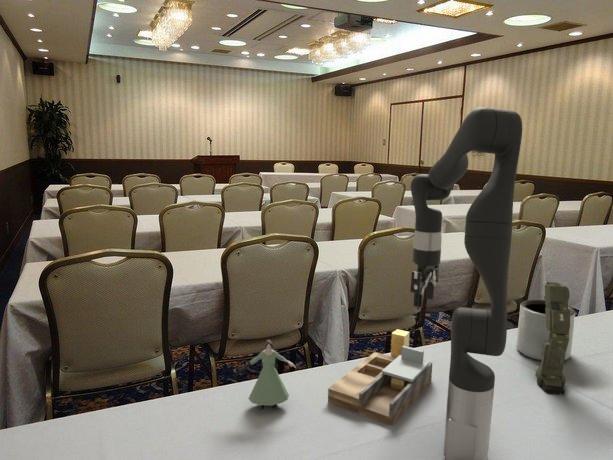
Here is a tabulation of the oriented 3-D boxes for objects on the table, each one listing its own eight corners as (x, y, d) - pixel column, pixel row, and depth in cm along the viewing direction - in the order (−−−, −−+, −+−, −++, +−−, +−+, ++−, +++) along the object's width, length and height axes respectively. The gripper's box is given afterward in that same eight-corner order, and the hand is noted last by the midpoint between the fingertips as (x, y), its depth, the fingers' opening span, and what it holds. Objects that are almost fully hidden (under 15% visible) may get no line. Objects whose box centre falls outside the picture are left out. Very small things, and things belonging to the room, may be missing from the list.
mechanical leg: (574, 399, 131) (577, 285, 132) (544, 396, 132) (548, 283, 134) (558, 386, 144) (561, 282, 146) (531, 383, 146) (535, 281, 147)
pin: (402, 367, 150) (404, 336, 148) (390, 364, 152) (391, 333, 150) (407, 362, 153) (409, 332, 151) (395, 359, 155) (397, 329, 153)
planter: (580, 364, 153) (586, 316, 150) (527, 363, 153) (532, 315, 150) (556, 343, 169) (560, 299, 166) (508, 342, 169) (512, 298, 166)
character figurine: (234, 418, 122) (233, 349, 118) (233, 401, 130) (232, 336, 126) (298, 412, 125) (299, 345, 121) (293, 396, 133) (293, 332, 129)
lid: (412, 382, 129) (412, 366, 128) (381, 373, 134) (382, 358, 133) (428, 365, 139) (429, 350, 138) (399, 357, 144) (400, 343, 143)
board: (391, 425, 120) (392, 404, 119) (327, 402, 130) (328, 383, 129) (431, 380, 142) (432, 362, 141) (374, 364, 152) (374, 347, 151)
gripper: (430, 253, 130) (426, 312, 133) (449, 244, 141) (445, 298, 144) (403, 249, 134) (400, 306, 137) (424, 240, 145) (421, 293, 148)
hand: (423, 302), depth 141 cm, fingers open, 8 cm apart
